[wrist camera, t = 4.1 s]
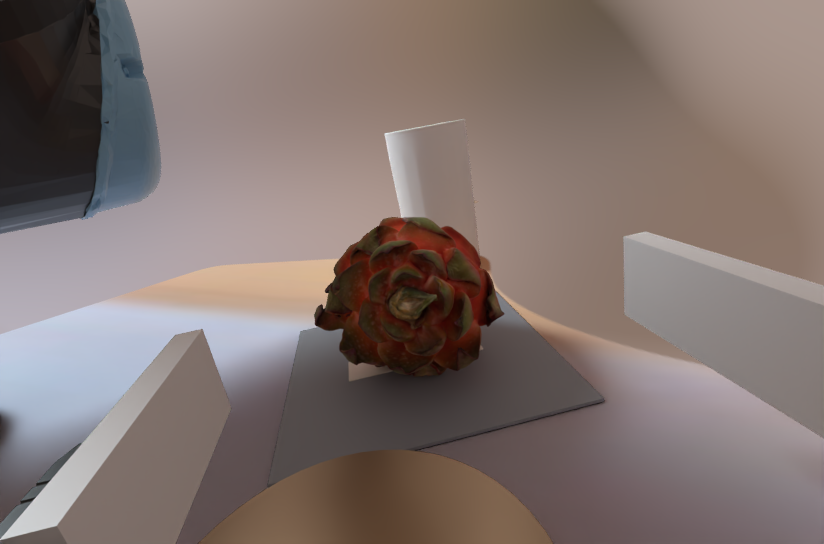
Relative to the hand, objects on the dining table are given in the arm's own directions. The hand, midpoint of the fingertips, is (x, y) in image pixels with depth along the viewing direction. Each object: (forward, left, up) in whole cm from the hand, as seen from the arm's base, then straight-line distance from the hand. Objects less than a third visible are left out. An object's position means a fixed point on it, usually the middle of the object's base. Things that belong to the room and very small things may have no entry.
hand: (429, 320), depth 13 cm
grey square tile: (0, +9, -6) cm, 11 cm away
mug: (+5, +26, -7) cm, 27 cm away
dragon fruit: (0, +9, -6) cm, 11 cm away
